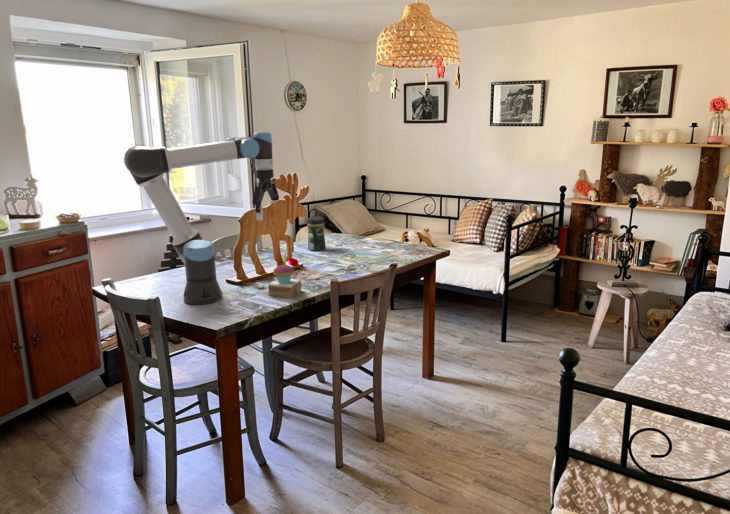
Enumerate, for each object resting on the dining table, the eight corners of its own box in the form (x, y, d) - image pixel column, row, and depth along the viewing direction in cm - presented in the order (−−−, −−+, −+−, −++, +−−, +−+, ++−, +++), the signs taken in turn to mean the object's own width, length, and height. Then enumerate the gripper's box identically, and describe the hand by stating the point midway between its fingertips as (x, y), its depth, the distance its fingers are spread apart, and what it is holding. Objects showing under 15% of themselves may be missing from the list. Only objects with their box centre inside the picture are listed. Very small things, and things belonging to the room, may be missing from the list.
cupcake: (280, 278, 231) (279, 250, 228) (298, 280, 228) (297, 252, 225) (269, 283, 224) (268, 255, 221) (288, 285, 221) (286, 257, 218)
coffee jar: (318, 246, 311) (317, 214, 306) (327, 249, 305) (326, 216, 301) (305, 249, 304) (304, 217, 300) (314, 252, 299) (313, 218, 294)
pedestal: (291, 297, 221) (290, 286, 220) (269, 295, 224) (268, 284, 223) (301, 290, 231) (300, 279, 229) (279, 288, 234) (279, 277, 232)
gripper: (258, 171, 222) (261, 222, 227) (285, 166, 245) (287, 213, 250) (241, 171, 224) (245, 222, 229) (270, 166, 247) (272, 212, 252)
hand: (267, 217), depth 240 cm, fingers open, 13 cm apart
